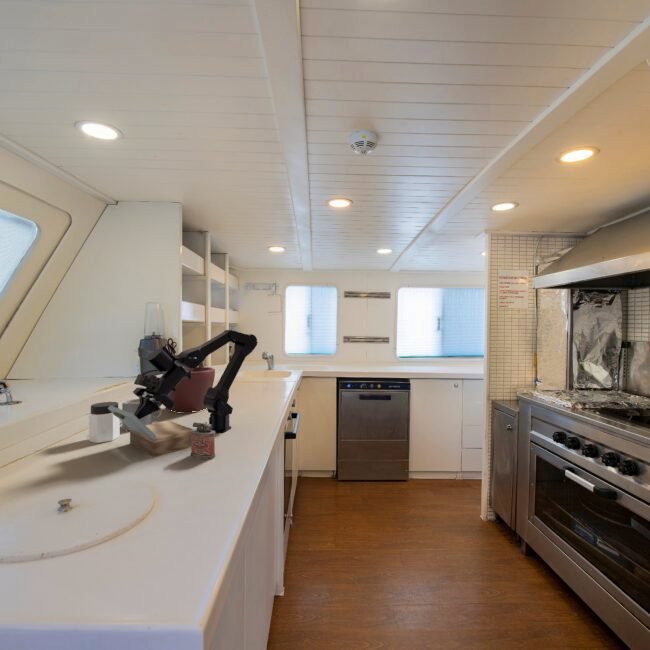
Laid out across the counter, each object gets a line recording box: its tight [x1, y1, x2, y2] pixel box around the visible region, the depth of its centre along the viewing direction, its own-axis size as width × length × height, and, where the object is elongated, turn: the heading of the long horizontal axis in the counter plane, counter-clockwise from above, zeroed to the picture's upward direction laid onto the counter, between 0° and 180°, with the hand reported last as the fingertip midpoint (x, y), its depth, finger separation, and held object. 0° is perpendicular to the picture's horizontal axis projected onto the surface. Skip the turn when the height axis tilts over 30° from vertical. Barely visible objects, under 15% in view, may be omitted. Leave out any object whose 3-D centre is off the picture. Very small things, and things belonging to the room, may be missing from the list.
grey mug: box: [121, 398, 162, 431], centre depth 137 cm, size 13×10×10 cm
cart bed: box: [129, 420, 195, 457], centre depth 115 cm, size 13×18×5 cm
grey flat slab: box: [108, 405, 156, 439], centre depth 108 cm, size 2×18×10 cm
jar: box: [88, 401, 121, 444], centre depth 121 cm, size 9×8×12 cm
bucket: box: [162, 361, 216, 412], centre depth 166 cm, size 24×22×25 cm
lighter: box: [190, 421, 216, 460], centre depth 105 cm, size 8×3×10 cm, turn 71°
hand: (133, 420), depth 109 cm, fingers closed, pressing on grey flat slab
